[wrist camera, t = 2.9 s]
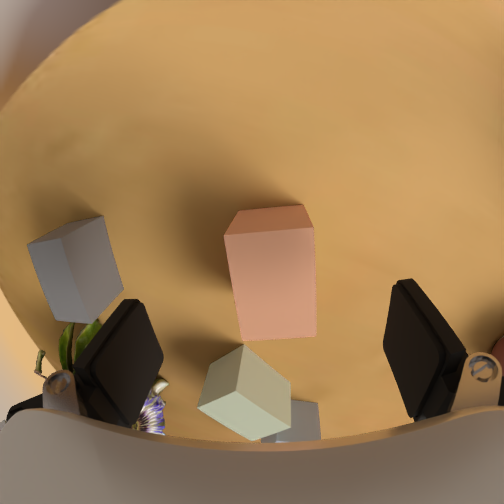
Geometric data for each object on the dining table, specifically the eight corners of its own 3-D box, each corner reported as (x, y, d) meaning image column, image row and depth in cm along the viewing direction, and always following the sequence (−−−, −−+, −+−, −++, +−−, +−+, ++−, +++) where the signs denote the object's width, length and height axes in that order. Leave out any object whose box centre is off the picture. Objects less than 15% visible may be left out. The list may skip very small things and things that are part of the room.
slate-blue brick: (297, 431, 25) (297, 468, 21) (262, 426, 25) (258, 464, 21) (317, 402, 23) (321, 444, 18) (278, 397, 23) (276, 440, 18)
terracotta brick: (308, 290, 19) (316, 336, 14) (250, 295, 19) (242, 340, 14) (303, 204, 16) (313, 227, 12) (238, 210, 17) (223, 235, 12)
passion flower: (176, 341, 29) (196, 456, 21) (94, 355, 29) (103, 456, 21) (115, 291, 19) (129, 474, 11) (23, 316, 19) (22, 452, 11)
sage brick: (290, 382, 22) (290, 427, 17) (256, 398, 23) (251, 441, 19) (244, 343, 21) (235, 390, 16) (210, 363, 22) (196, 408, 17)
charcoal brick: (124, 288, 20) (91, 323, 15) (89, 289, 20) (55, 320, 16) (103, 215, 18) (60, 238, 13) (68, 222, 18) (26, 244, 14)
